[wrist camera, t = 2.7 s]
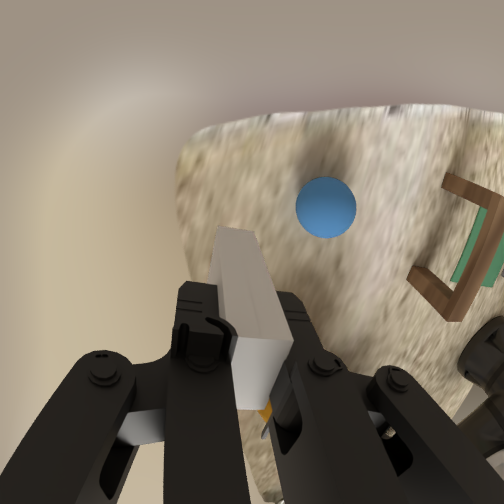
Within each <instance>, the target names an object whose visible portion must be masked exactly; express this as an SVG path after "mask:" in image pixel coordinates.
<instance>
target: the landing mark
mask: <svg viewBox="0 0 504 504" xmlns="http://www.w3.org/2000/svg"><path fill="white" fill-rule="evenodd" d="M486 213H487V209H485V208H483V207H481V206H480V208H479V211H478V214H477V217H476V220H475V223H474V225H473V228H472V231H471V233H470V236H469V238H468V241H467V243H466V246H465V248H464V251H463V253H462V256H461V258H460V260H459V263H458V265H457V267H456V269H455V271H454V274H453V276H452V278H451V280H450V281H452V282H458V281H459V279H460V277H461V275H462V273H463V271H464V268H465V266H466V264H467V262H468V259H469V257H470V255H471V252H472V250H473V247H474V245H475V242H476V240H477V237H478V235H479V232H480V229H481V227H482V224H483V221H484V218H485V216H486ZM503 263H504V233H503V236H502V238H501V241H500V243H499V246H498V248H497V251H496V253H495V256H494V258H493V260H492V262H491V265H490V267H489V269H488V271H487V274H486V276H485V278H484V280H483V282H482V284H481V286H485V287H493V284H494V282H495V280H496V278H497V276H498V274H499V272H500V269H501V267H502V265H503Z"/></svg>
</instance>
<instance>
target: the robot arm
mask: <svg viewBox="0 0 504 504" xmlns="http://www.w3.org/2000/svg"><path fill="white" fill-rule="evenodd" d="M310 321H311V320H310V318H309V316H308V314H307V312H306V309H305V307H304V305H303V303H302V302H301V301H300V300H299V299H298V298H297V297H296V296H295V295H294V294H293V293H290V292H281V291H276V290H275V287H274V285H273V282H272V279H271V277H270V274H269V271H268V268H267V266H266V263H265V260H264V257H263V255H262V252H261V249H260V247H259V244H258V241H257V238H256V236H255V233H254V231H248V230H242V229H236V228H229V227H223V226H218V227H217V232H216V237H215V242H214V248H213V253H212V258H211V264H210V270H209V275H208V281H207V284H206V283H198V282H191V281H186V282H185V283H184V284H183V285H182V286H181V287H180V288H179V291H178V298H177V306H176V314H175V322H174V327H173V329H172V341H171V349H170V350H169V351H168V353H167V354H166V355H165V356H164V357H162V358H160V359H158V360H156V361H154V362H149V363H143V364H133V365H132V363H131V362H130V361H129V360H128V359H127V358H126V357H124V356H122V355H121V354H119V353H117V352H113V351H108V350H100V351H93V352H90V353H88V354H85V355H84V356H82V357H81V358H80V359H79V360H78V361H77V362H76V363H75V365H74V366H73V367H72V369H71V370H70V372H69V373H68V374H67V375H66V377H65V378H64V380H63V381H62V382H61V384H60V385H59V387H58V388H57V389H56V391H55V392H54V393H53V395H52V396H51V398H50V399H49V401H48V402H47V403H46V405H45V406H44V408H43V409H42V411H41V412H40V414H39V415H38V417H37V418H36V420H35V421H34V423H33V424H32V426H31V427H30V429H29V430H28V432H27V433H26V435H25V436H24V438H23V439H22V441H21V442H20V444H19V446H18V447H17V449H16V450H15V452H14V454H13V455H12V457H11V458H10V460H9V462H8V463H7V465H6V467H5V468H4V470H3V472H2V474H1V475H0V504H117V501H118V498H119V496H120V493H121V491H122V488H123V486H124V483H125V481H126V478H127V475H128V473H129V471H130V468H131V465H132V463H133V460H134V458H135V456H136V453H137V451H138V448H139V446H140V445H143V444H149V443H155V442H162V441H165V442H164V479H163V480H164V481H163V483H164V485H163V504H251V501H250V495H249V489H248V482H247V476H246V469H245V463H244V457H243V449H242V442H241V435H240V428H239V421H238V414H237V409H247V410H264V409H265V407H266V405H267V403H268V400H269V398H270V402H271V407H272V413H271V415H270V417H269V419H268V421H267V423H266V425H265V427H264V429H263V431H262V436H261V439H265V438H266V437H267V435H268V433H269V432H270V437H271V442H272V446H273V451H274V456H275V461H276V465H277V470H278V475H279V479H280V484H281V488H282V493H283V497H284V502H285V504H504V317H503V316H499V317H496V318H494V319H493V320H491V321H490V322H488V323H487V324H486V325H485V326H484V327H483V328H481V329H480V330H479V331H478V333H477V334H476V335H475V336H474V337H473V338H472V340H471V341H470V342H469V343H468V345H467V346H466V348H465V349H464V351H463V353H462V354H461V356H460V359H459V361H458V366H457V368H458V371H459V372H460V373H461V375H462V376H463V377H464V378H465V379H467V380H469V381H470V382H472V383H474V384H476V385H477V386H479V387H481V388H482V389H483V390H484V391H485V393H486V394H487V395H488V398H487V399H486V400H485V401H484V402H483V403H482V404H481V405H480V406H479V407H478V408H476V409H475V410H474V411H473V412H472V413H471V414H469V415H468V416H467V417H466V418H465V419H463V420H462V421H461V422H460V423H458V424H457V425H456V424H455V423H454V422H453V421H452V420H451V419H450V417H449V416H448V415H447V414H446V413H445V412H444V411H443V410H442V409H441V407H440V406H439V405H438V404H437V403H436V402H435V401H434V400H433V399H432V397H431V396H430V395H429V394H428V393H427V392H426V391H425V390H424V389H423V388H422V386H421V385H420V384H419V383H418V382H417V381H416V380H415V379H414V378H413V377H412V376H411V375H410V374H409V373H408V372H406V371H405V370H403V369H401V368H399V367H396V366H391V365H388V366H382V367H381V368H379V369H378V370H377V372H376V373H375V375H374V376H373V377H370V376H365V375H361V374H356V373H352V372H349V371H348V369H347V367H346V366H345V364H344V363H343V362H342V360H341V359H340V358H338V357H337V356H336V355H334V354H333V353H330V352H328V351H326V350H324V349H323V346H322V344H321V342H320V340H319V338H318V335H317V333H316V331H315V329H314V327H313V325H312V322H310ZM390 427H392V428H393V429H394V430H395V432H396V433H395V434H394V435H393V436H392V437H390V436H387V435H386V434H385V432H386V431H387V430H388V429H389V428H390Z"/></svg>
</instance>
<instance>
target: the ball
mask: <svg viewBox="0 0 504 504" xmlns="http://www.w3.org/2000/svg"><path fill="white" fill-rule="evenodd" d="M296 213H297V217H298V220H299V222H300V223H301V225H302V226H303V227H304V229H305V230H307V231H308V232H309V233H311V234H312V235H314V236H317V237H321V238H332V237H336V236H339V235H341V234H342V233H344V232H345V231H346V230H347V229H348V228H349V227H350V226H351V224H352V223H353V221H354V218H355V215H356V201H355V198H354V195H353V193H352V191H351V190H350V189H349V187H348V186H347V185H346V184H344V183H343V182H342V181H340V180H338V179H335V178H331V177H320V178H316V179H313V180H311V181H310V182H308V183H307V184H306V185H305V186H304V187H303V188H302V189H301V191H300V192H299V194H298V197H297V201H296Z"/></svg>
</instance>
